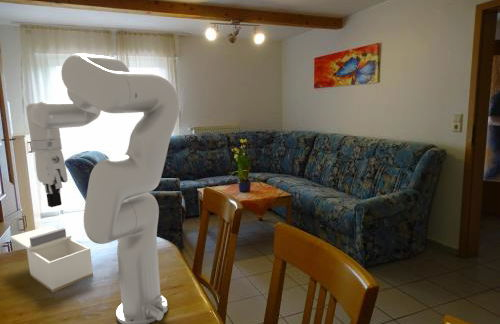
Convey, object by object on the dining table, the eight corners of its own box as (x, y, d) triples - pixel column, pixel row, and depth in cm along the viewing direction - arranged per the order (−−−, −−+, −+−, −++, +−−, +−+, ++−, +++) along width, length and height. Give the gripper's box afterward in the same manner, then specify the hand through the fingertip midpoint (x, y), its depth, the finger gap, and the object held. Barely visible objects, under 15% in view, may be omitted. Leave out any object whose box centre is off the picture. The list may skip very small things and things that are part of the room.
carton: (93, 275, 107) (90, 248, 105) (52, 292, 97) (48, 263, 96) (69, 261, 116) (66, 236, 115) (30, 275, 107) (26, 249, 105)
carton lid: (71, 237, 113) (70, 228, 112) (29, 251, 103) (28, 240, 103) (50, 227, 123) (49, 219, 122) (10, 238, 113) (9, 229, 113)
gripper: (71, 145, 97) (79, 206, 100) (49, 143, 107) (57, 199, 110) (43, 148, 92) (52, 213, 95) (22, 145, 101) (31, 205, 104)
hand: (55, 205), depth 102 cm, fingers closed
